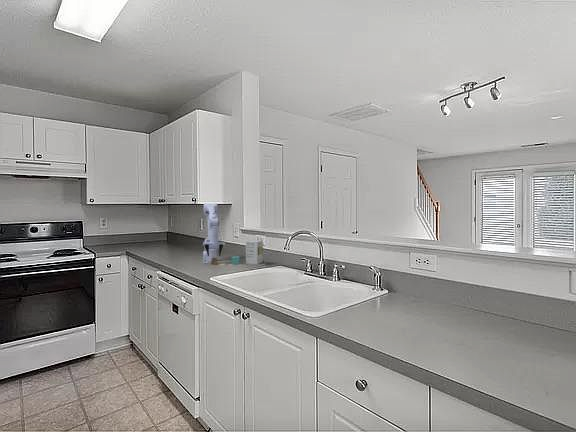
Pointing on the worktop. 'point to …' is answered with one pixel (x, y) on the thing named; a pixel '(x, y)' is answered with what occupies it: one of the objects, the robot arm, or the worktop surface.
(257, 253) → the supplement box
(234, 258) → the cube
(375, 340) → the worktop surface
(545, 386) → the worktop surface
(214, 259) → the wooden board with block
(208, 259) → the robot arm
